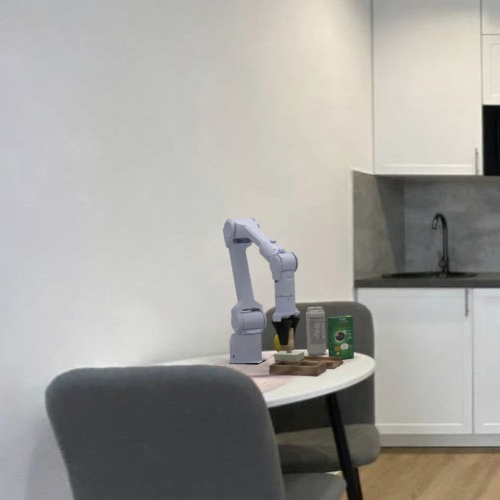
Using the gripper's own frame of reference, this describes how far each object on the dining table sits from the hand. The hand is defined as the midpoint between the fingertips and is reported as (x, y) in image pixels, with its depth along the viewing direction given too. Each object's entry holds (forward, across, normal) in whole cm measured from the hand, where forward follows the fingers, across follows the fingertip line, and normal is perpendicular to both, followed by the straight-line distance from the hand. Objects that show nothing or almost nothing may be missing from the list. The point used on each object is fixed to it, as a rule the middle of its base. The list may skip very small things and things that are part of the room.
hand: (286, 343), depth 204 cm
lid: (+7, +11, +4) cm, 13 cm away
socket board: (+8, 0, -3) cm, 8 cm away
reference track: (+8, +11, -2) cm, 14 cm away
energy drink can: (+8, +28, +1) cm, 29 cm away
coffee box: (+8, +22, -9) cm, 25 cm away
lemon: (+8, +24, +11) cm, 28 cm away
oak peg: (+2, 0, 0) cm, 2 cm away
